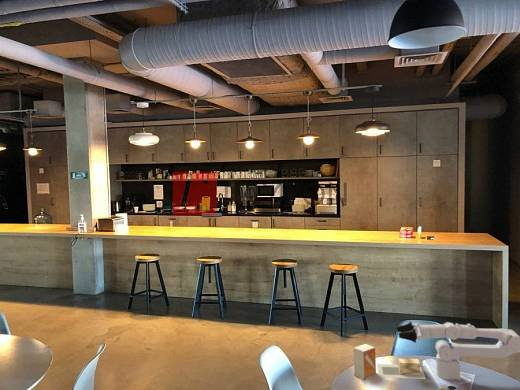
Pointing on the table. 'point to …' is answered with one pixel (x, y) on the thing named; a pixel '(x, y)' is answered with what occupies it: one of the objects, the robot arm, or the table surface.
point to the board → (396, 372)
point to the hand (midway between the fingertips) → (397, 332)
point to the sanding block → (409, 366)
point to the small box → (364, 361)
